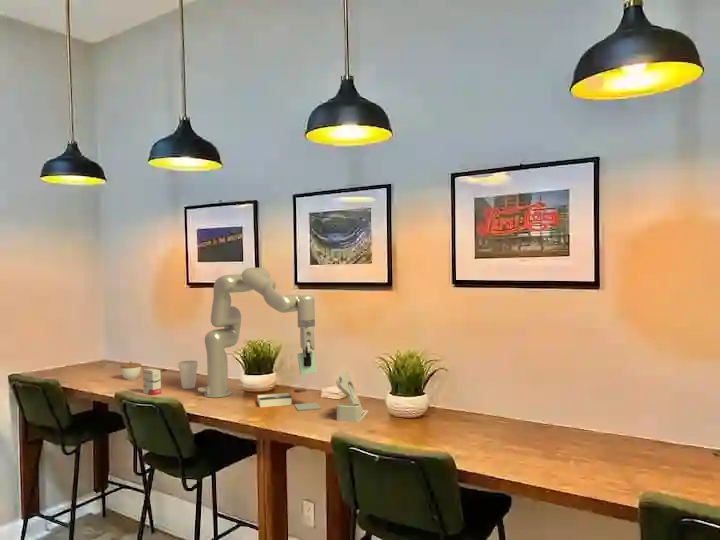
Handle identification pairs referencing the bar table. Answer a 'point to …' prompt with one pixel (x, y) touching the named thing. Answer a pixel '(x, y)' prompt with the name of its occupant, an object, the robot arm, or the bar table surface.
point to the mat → (307, 406)
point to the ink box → (152, 381)
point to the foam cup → (188, 373)
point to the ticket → (306, 368)
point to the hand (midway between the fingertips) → (307, 365)
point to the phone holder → (352, 409)
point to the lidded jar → (131, 370)
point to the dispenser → (274, 400)
